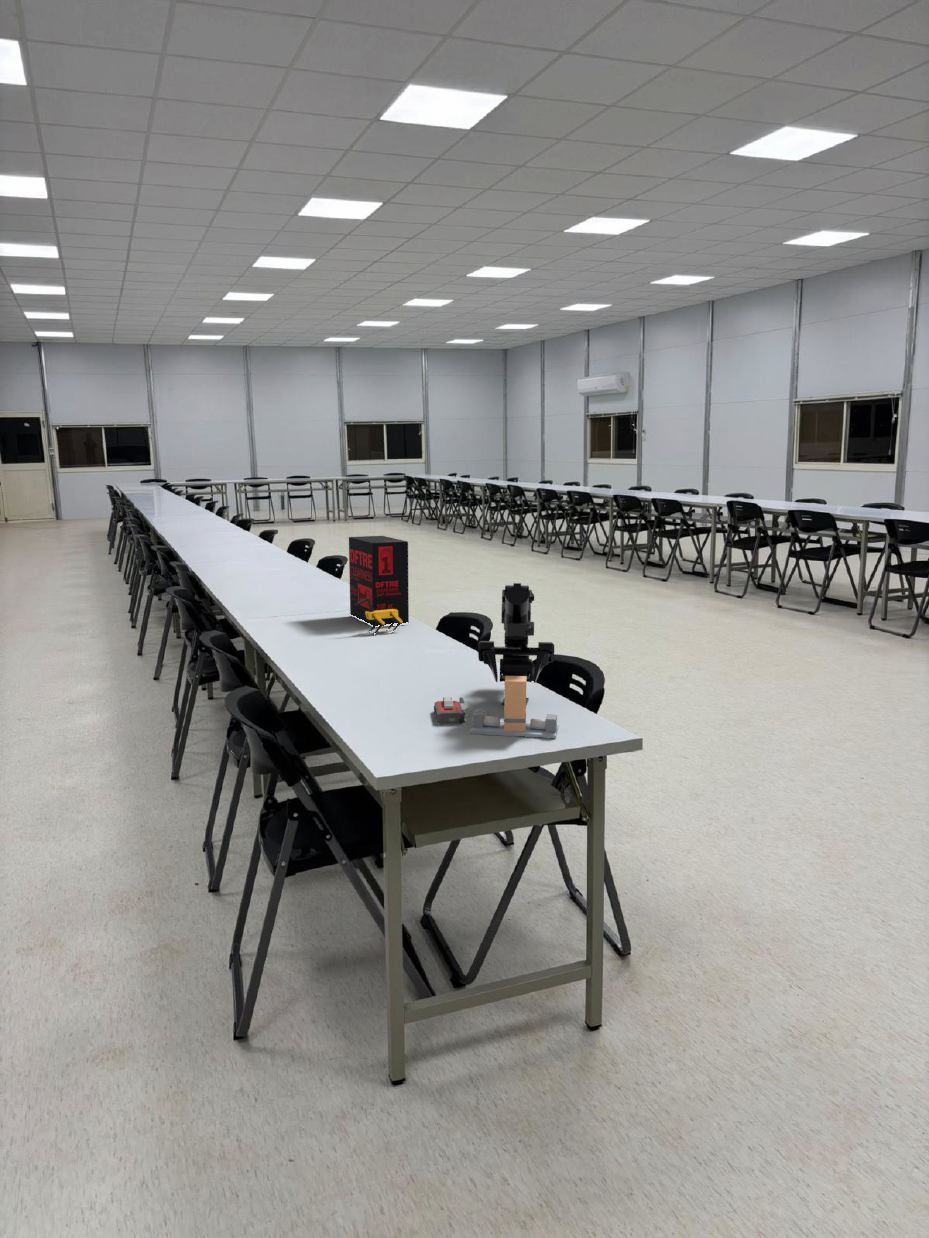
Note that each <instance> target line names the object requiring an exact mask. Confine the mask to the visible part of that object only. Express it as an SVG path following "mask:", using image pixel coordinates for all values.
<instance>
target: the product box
mask: <svg viewBox="0 0 929 1238" xmlns="http://www.w3.org/2000/svg"><path fill="white" fill-rule="evenodd" d="M348 560H349V561H348V563H349V564H348V566H349V568H348V569H349V571H348V572H349V614H351V615H353V616H356V617H357V618H359V619H362V620H364V621H365V622H367V623H370V624H371V625H373V626H374V625H375V624H376V622H375V621H374V620H373V619H372V620H369V619H367V618H366V614H365V612H366V611H369V609H370V607H369V605H368V602H367V601H366V602H364V603H362V604H360V605H357V606H355V605H354V604H355V603H358V602H360V601H362V600H364V599H366V598H369V600H370V602H371V604H372V607H373V608H374V611H376V610H387V609H396V610H398V617H399V618H400V619H401V620H402V621H403V623H406V622H408V623H409V621H410V620H409V619H410V618H409V617H410V615H409V613H410V612H409V601H410V600H409V541H407V540H403V539H399V538H398V539H397V538H395V537H389V536H386V535H368V536H366V535H365V536H364V535H363V536H349V537H348ZM381 620H382V621H384V623H385V625H386V624H391V623H393V621H394V620H393V619H392V618H382V619H381ZM395 623H399V622H398V621H397V622H395ZM378 625H381V624H380V623H379V624H377V625H376V626H378Z"/></svg>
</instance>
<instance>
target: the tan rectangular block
mask: <svg viewBox="0 0 929 1238" xmlns="http://www.w3.org/2000/svg"><path fill="white" fill-rule="evenodd" d="M526 677H527V676H505V681H504V697H505V702H504V709H503V711H504V712H503V713H504V717H503V722H504V731H525V730H526V723H527V705H526V698H527V682H526Z"/></svg>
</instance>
